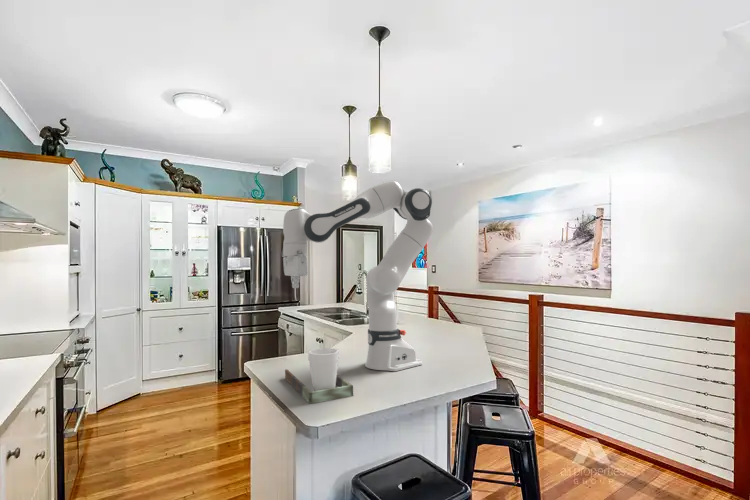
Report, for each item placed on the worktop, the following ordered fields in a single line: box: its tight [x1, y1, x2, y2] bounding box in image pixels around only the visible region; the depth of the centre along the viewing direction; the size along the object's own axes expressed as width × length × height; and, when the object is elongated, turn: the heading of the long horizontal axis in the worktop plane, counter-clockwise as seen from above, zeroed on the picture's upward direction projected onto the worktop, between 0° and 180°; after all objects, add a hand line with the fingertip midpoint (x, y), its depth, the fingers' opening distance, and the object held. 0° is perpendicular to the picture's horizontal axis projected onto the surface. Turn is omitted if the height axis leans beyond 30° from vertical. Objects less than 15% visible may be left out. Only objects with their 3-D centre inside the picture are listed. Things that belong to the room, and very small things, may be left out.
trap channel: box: [284, 369, 354, 405], centre depth 123 cm, size 14×28×3 cm, turn 28°
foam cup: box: [307, 347, 340, 392], centre depth 116 cm, size 10×9×13 cm
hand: (295, 288), depth 142 cm, fingers closed
